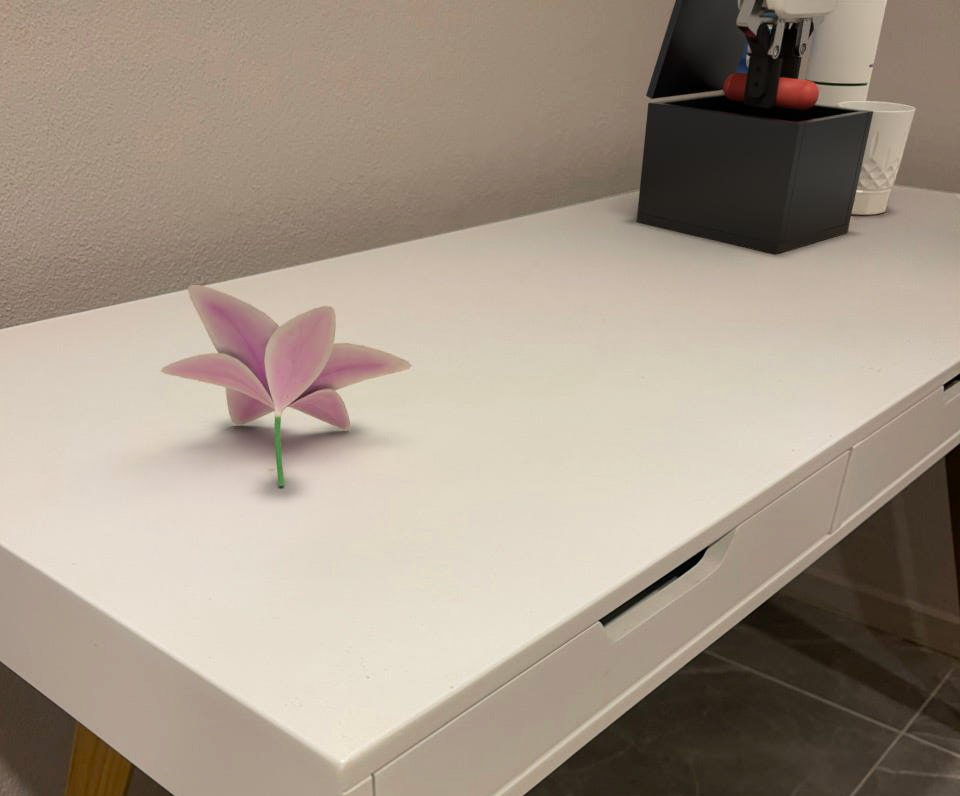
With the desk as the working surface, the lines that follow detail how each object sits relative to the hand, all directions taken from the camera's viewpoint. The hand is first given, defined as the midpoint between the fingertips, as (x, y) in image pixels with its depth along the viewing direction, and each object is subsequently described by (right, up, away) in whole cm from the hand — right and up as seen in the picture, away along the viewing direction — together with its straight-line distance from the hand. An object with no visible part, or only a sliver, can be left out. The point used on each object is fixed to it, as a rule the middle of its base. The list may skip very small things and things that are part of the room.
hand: (768, 103), depth 94 cm
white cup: (+14, -4, +15) cm, 21 cm away
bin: (-1, -9, +7) cm, 11 cm away
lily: (-38, -41, -38) cm, 67 cm away
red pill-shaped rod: (0, 0, 0) cm, 0 cm away
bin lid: (-4, +10, -1) cm, 11 cm away
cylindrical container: (+13, +4, +26) cm, 30 cm away
